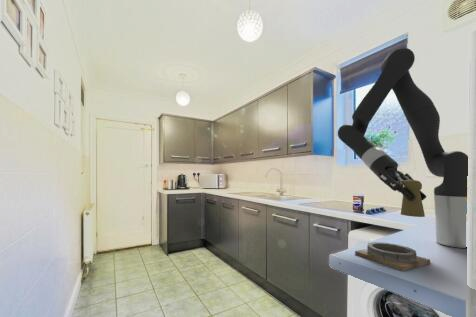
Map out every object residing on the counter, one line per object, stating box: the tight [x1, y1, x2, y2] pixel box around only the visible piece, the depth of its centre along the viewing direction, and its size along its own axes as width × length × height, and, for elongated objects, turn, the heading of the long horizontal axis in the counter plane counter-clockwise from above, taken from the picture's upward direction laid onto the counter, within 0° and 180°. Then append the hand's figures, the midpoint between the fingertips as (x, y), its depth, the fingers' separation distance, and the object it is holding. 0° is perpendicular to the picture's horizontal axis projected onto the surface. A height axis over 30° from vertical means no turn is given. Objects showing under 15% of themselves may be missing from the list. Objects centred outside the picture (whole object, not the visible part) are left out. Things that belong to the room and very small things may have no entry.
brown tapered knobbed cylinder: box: [400, 179, 426, 218], centre depth 71 cm, size 6×6×11 cm
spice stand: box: [354, 241, 431, 272], centre depth 65 cm, size 13×13×3 cm
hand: (418, 199), depth 70 cm, fingers closed on brown tapered knobbed cylinder, 5 cm apart
